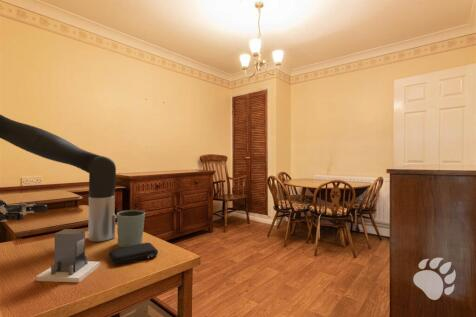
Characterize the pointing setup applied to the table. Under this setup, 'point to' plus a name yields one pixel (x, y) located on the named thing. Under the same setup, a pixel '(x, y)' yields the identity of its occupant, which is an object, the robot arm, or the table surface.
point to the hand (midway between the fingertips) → (34, 212)
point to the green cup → (130, 227)
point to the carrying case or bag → (132, 253)
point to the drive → (69, 250)
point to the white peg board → (68, 273)
